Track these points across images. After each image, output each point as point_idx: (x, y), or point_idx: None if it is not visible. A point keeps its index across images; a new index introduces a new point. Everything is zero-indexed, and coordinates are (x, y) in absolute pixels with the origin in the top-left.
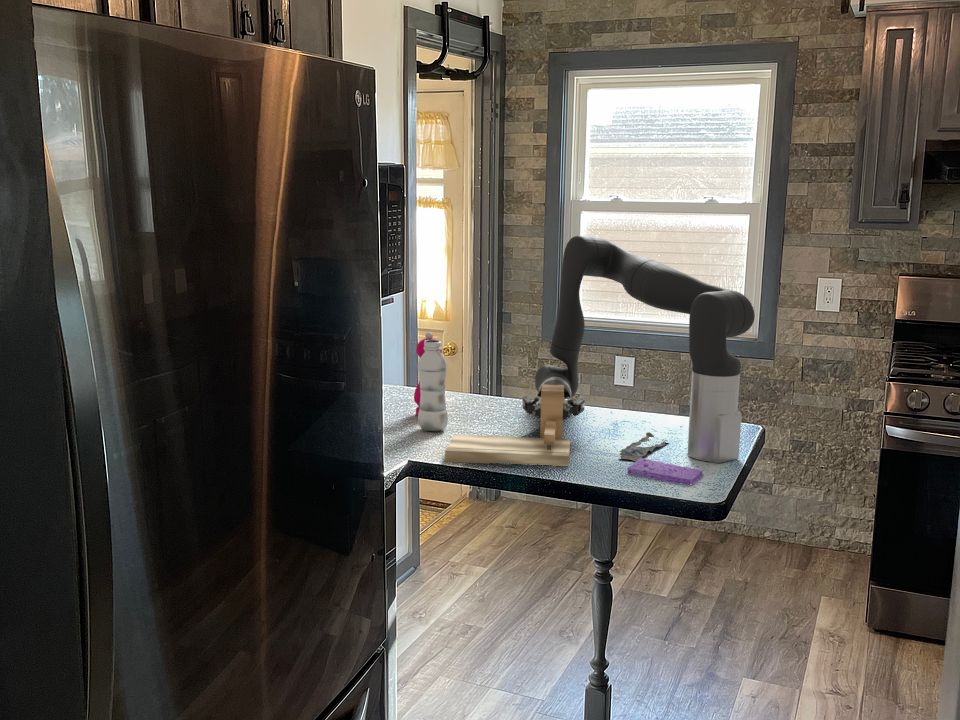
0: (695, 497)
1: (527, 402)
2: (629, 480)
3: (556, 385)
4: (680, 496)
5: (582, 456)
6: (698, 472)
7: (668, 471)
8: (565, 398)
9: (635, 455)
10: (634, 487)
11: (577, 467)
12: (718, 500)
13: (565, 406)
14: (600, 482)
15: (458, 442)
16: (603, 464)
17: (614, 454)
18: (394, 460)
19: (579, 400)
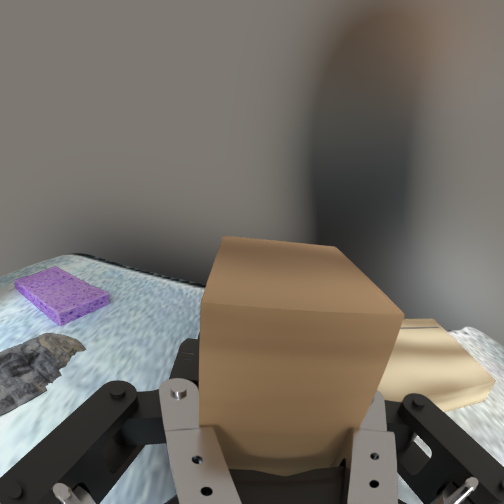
0: (77, 260)
1: (427, 398)
2: (121, 289)
3: (276, 297)
4: (90, 262)
5: (160, 375)
6: (26, 276)
7: (59, 281)
8: (173, 463)
9: (41, 346)
10: (127, 277)
11: (189, 327)
12: (62, 256)
13: (195, 361)
14: (166, 288)
15: (450, 347)
16: (129, 335)
17: (71, 377)
18: (477, 330)
19: (51, 463)
